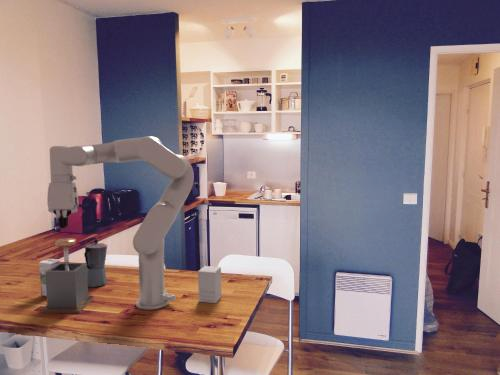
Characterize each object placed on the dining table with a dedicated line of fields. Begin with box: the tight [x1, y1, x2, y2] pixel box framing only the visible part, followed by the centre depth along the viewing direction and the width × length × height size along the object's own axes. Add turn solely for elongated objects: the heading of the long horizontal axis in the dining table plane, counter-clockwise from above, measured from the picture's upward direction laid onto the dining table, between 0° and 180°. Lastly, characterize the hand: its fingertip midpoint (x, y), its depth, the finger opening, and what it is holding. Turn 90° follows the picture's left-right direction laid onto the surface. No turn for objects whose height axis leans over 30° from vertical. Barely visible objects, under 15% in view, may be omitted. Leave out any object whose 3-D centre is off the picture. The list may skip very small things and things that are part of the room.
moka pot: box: [83, 239, 108, 288], centre depth 185 cm, size 10×15×20 cm, turn 174°
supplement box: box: [197, 265, 222, 304], centre depth 168 cm, size 7×7×13 cm
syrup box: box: [38, 258, 61, 298], centre depth 173 cm, size 6×6×14 cm
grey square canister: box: [40, 262, 95, 314], centre depth 162 cm, size 14×14×15 cm
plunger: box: [54, 237, 77, 271], centre depth 161 cm, size 8×8×14 cm
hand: (63, 227), depth 159 cm, fingers closed
